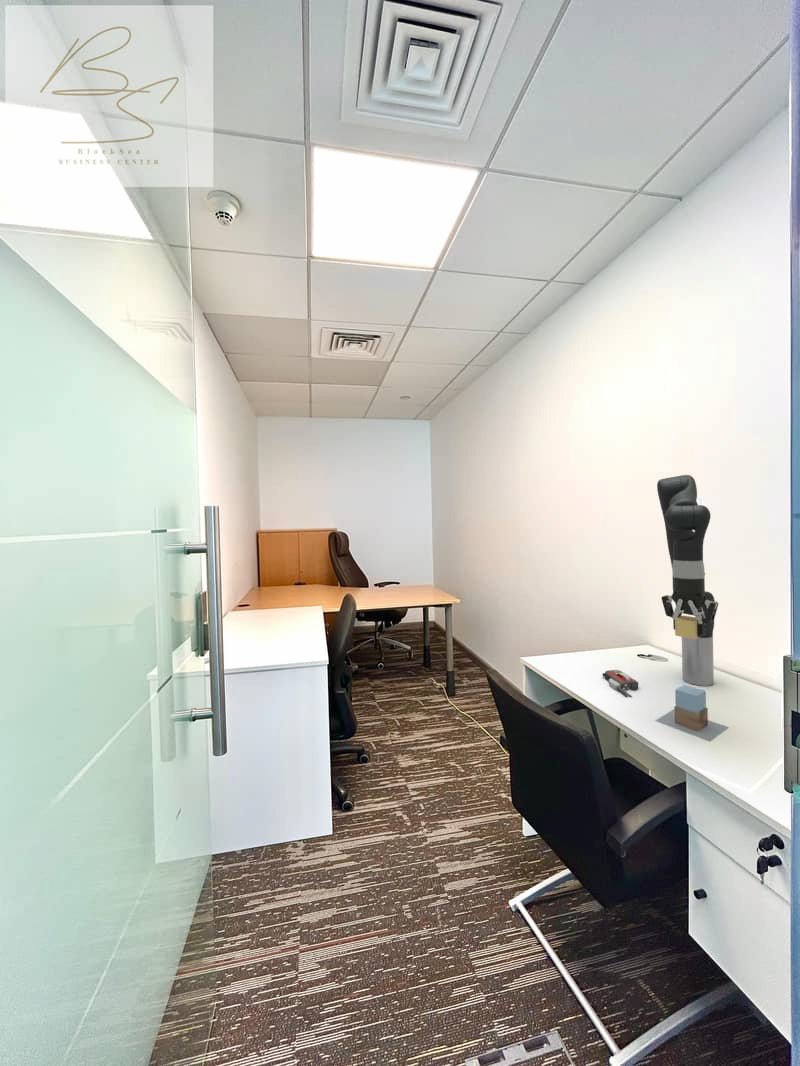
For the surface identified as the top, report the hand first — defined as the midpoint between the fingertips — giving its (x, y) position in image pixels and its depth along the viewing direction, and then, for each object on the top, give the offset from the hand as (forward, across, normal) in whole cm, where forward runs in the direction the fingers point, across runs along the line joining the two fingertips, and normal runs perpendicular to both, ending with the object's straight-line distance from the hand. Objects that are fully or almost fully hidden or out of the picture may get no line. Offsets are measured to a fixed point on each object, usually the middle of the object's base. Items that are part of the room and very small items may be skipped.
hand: (689, 633), depth 118 cm
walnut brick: (+26, 0, 0) cm, 26 cm away
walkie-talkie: (+28, -26, +11) cm, 40 cm away
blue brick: (+22, 0, 0) cm, 22 cm away
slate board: (+28, 0, 0) cm, 28 cm away
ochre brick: (0, 0, 0) cm, 0 cm away
